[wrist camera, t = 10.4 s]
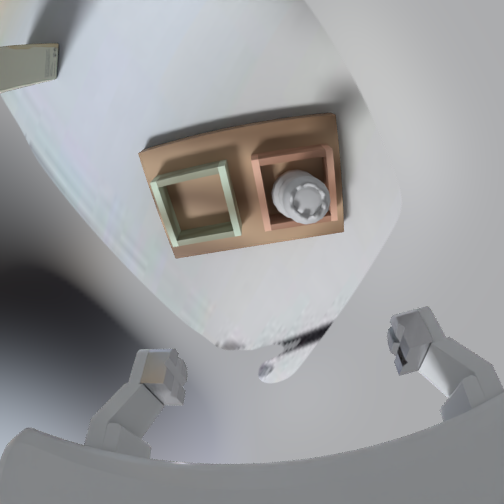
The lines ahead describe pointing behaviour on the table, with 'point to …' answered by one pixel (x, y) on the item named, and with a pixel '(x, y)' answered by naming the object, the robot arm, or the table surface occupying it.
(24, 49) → the skincare box
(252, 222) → the board
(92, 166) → the table surface
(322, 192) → the rook chess piece
